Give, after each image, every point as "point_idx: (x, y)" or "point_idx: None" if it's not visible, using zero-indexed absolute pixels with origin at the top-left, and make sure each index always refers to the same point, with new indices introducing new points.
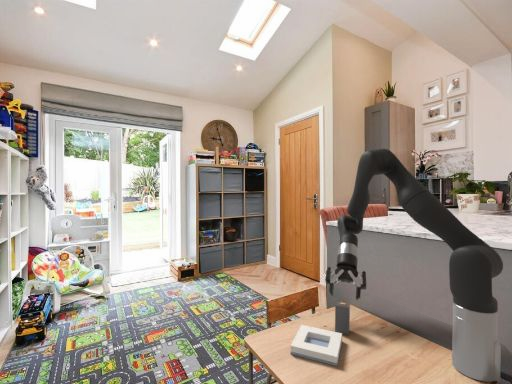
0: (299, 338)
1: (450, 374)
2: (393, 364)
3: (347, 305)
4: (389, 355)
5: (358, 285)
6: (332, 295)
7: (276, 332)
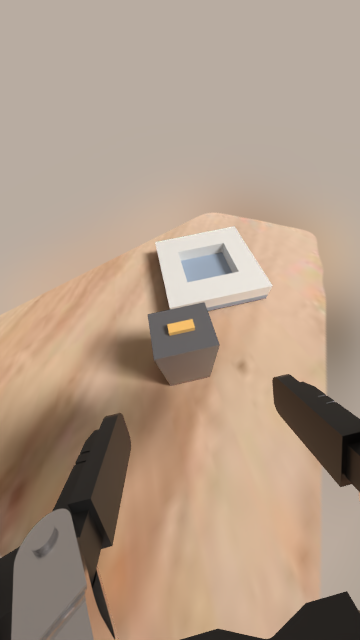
0: (236, 245)
1: None
2: (71, 308)
3: (159, 332)
4: (73, 331)
5: (50, 528)
6: (276, 397)
7: (305, 272)
